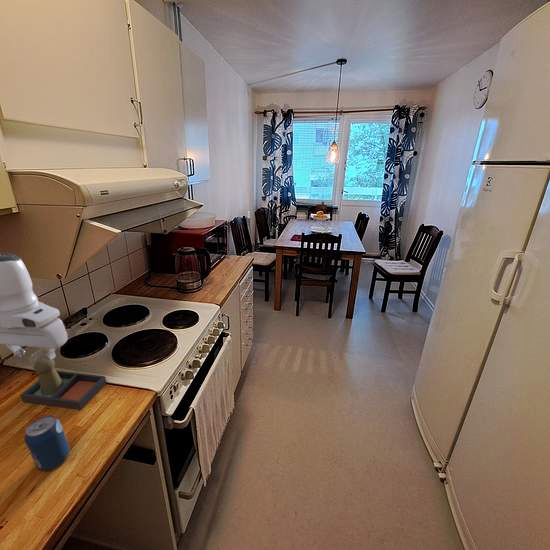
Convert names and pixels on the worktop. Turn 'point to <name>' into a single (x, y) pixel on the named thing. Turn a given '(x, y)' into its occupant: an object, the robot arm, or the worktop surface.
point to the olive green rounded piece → (47, 376)
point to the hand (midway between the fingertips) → (35, 356)
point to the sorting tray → (67, 391)
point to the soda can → (47, 443)
